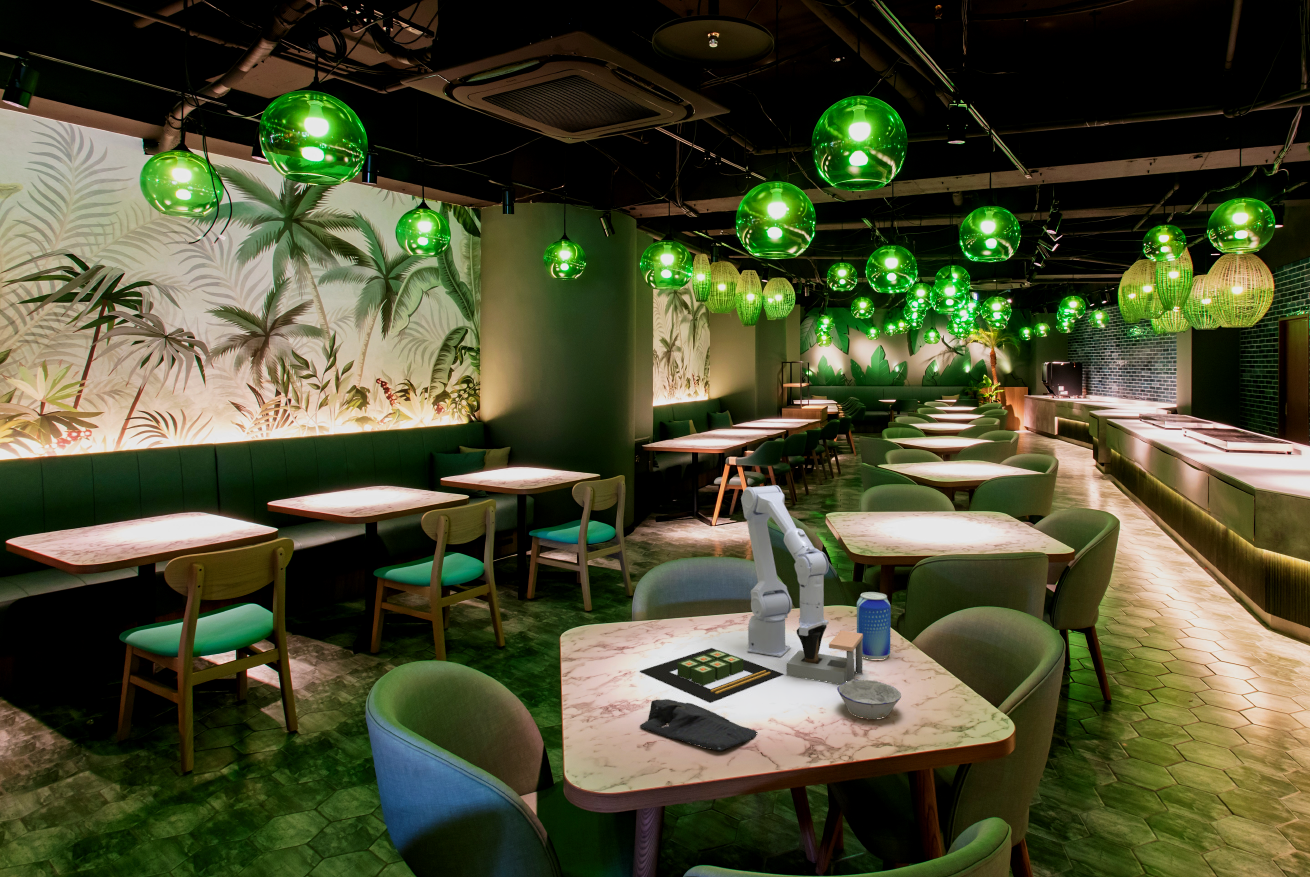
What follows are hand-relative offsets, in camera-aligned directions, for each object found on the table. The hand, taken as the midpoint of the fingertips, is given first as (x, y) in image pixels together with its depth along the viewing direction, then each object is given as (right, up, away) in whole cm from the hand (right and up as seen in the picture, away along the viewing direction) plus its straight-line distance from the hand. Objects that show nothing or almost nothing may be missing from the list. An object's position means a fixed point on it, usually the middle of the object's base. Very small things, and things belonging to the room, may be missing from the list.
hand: (811, 656), depth 179 cm
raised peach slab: (+7, -4, -4) cm, 9 cm away
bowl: (+7, -5, -23) cm, 25 cm away
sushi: (-25, -5, 0) cm, 25 cm away
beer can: (+18, -3, +11) cm, 22 cm away
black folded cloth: (-30, -7, -31) cm, 43 cm away
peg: (0, -3, 0) cm, 2 cm away
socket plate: (+2, -4, -1) cm, 4 cm away
